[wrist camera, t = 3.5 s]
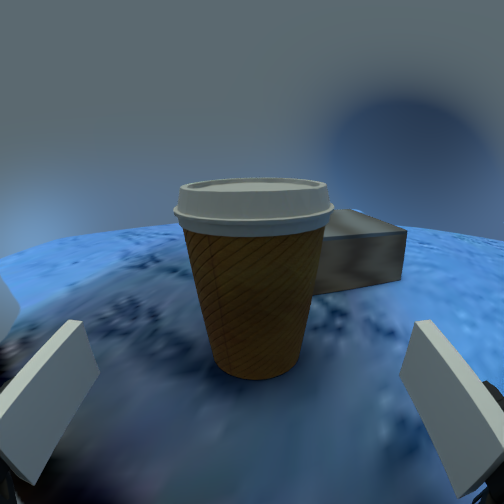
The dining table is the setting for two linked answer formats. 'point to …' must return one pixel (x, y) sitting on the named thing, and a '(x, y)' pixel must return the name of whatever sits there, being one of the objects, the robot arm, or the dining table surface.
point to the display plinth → (359, 252)
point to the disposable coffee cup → (254, 266)
